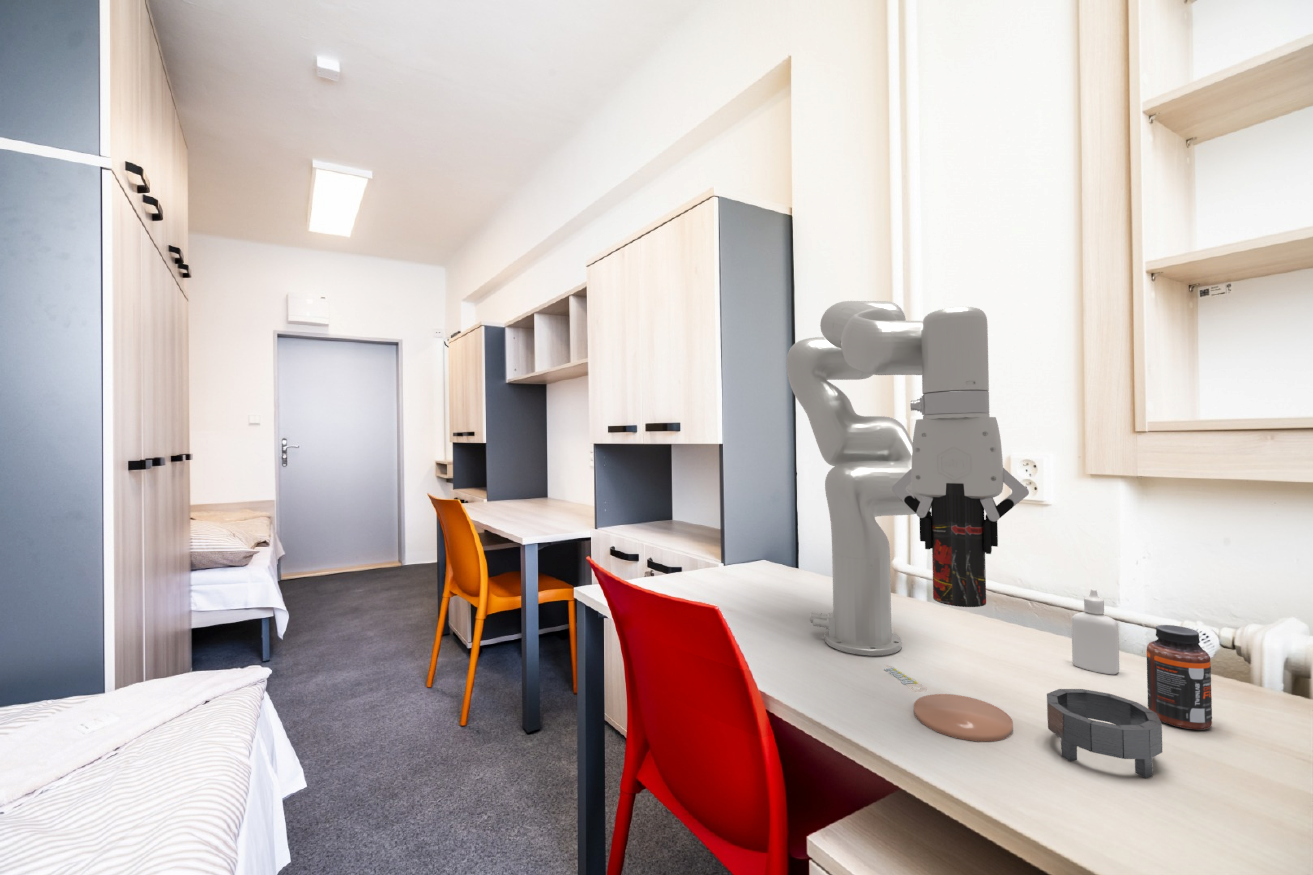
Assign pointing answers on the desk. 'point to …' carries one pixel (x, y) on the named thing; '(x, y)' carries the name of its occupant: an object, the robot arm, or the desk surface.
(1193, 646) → the supplement bottle
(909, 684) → the keychain
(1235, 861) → the desk surface
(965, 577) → the deodorant
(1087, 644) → the eye dropper bottle
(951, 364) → the robot arm
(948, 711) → the coaster
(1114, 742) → the ring stand
